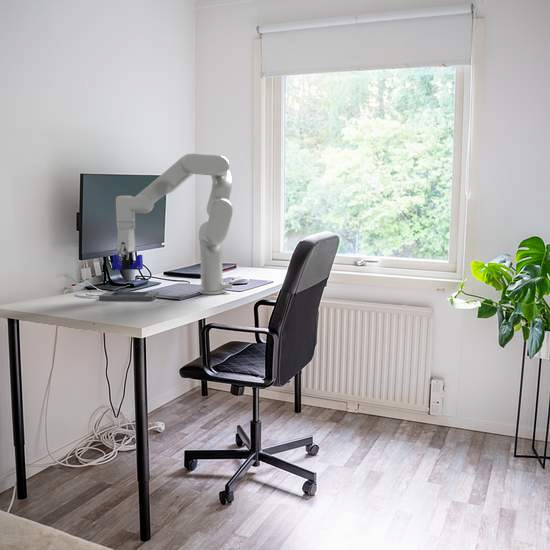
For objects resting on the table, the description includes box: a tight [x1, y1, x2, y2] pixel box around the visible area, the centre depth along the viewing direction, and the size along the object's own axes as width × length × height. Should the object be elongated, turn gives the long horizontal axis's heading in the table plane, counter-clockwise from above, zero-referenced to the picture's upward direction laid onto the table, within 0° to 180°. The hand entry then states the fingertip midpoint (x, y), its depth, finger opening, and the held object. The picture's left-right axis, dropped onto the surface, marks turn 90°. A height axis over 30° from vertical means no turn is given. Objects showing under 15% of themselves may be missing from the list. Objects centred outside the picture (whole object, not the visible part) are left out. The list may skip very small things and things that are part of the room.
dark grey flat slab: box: [98, 291, 160, 302], centre depth 275 cm, size 23×10×2 cm, turn 85°
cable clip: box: [111, 253, 144, 271], centre depth 272 cm, size 12×4×6 cm, turn 81°
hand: (128, 267), depth 273 cm, fingers closed on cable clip, 4 cm apart
